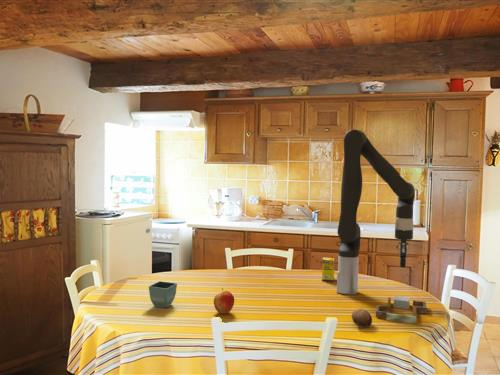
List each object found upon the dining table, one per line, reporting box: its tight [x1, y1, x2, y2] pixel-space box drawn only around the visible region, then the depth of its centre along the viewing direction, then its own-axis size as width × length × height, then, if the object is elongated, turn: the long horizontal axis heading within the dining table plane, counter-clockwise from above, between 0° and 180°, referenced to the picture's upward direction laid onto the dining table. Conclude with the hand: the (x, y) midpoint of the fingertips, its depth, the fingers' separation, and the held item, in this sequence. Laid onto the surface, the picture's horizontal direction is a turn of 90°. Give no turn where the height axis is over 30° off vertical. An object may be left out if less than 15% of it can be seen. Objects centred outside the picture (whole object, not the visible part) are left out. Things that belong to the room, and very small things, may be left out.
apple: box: [213, 287, 235, 315], centre depth 177 cm, size 8×8×10 cm
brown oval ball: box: [351, 308, 373, 329], centre depth 166 cm, size 8×8×6 cm
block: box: [393, 295, 411, 310], centre depth 189 cm, size 6×6×4 cm
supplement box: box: [321, 257, 335, 282], centre depth 229 cm, size 6×6×11 cm
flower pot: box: [148, 280, 178, 309], centre depth 185 cm, size 9×9×9 cm
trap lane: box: [375, 297, 428, 325], centre depth 180 cm, size 19×22×2 cm
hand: (402, 267), depth 196 cm, fingers closed
